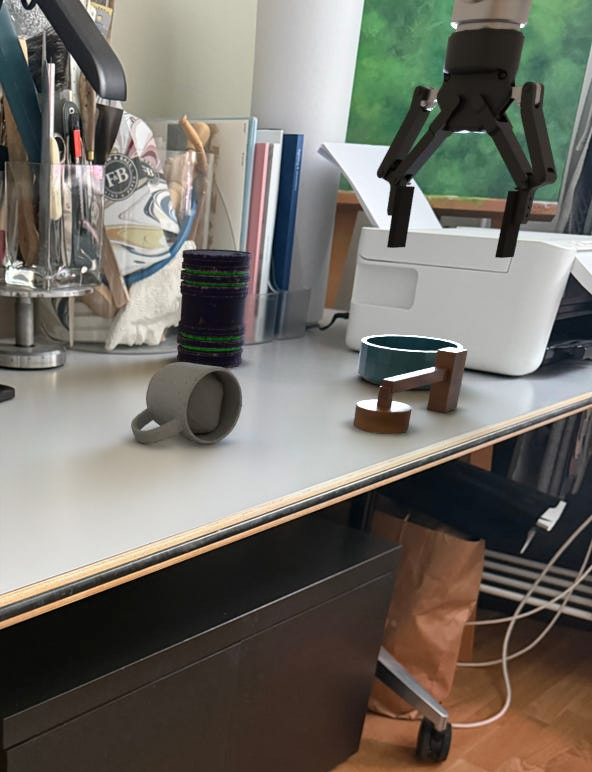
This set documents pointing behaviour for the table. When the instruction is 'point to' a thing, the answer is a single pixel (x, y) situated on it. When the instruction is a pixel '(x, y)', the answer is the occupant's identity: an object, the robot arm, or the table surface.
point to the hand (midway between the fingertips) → (447, 252)
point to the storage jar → (213, 307)
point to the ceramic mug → (190, 404)
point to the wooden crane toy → (396, 415)
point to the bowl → (398, 356)
